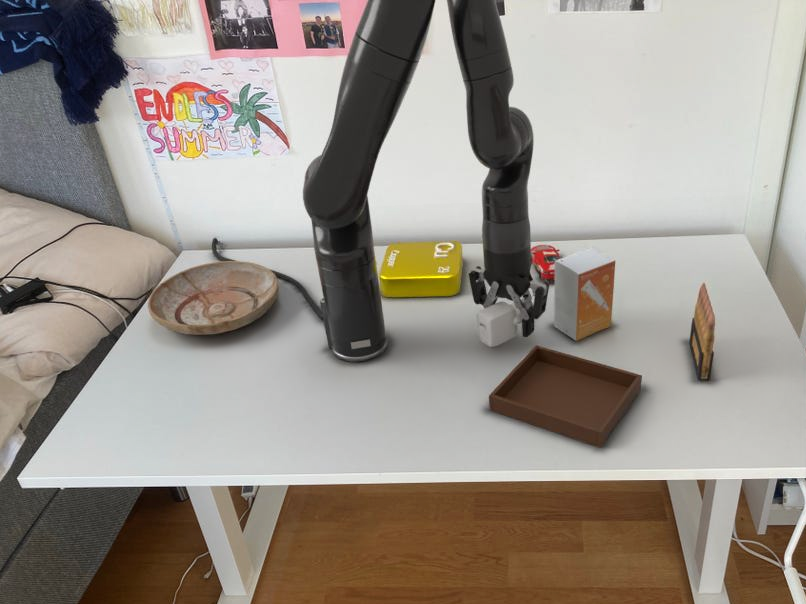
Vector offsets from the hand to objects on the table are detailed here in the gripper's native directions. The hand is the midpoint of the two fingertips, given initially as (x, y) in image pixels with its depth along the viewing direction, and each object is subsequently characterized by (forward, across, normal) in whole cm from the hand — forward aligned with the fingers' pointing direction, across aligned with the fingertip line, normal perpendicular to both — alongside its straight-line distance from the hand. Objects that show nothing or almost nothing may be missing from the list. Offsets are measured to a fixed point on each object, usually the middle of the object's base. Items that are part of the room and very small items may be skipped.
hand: (510, 330), depth 132 cm
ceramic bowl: (+2, +53, +16) cm, 55 cm away
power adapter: (+1, 0, 0) cm, 1 cm away
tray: (+2, -15, +10) cm, 19 cm away
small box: (+2, -9, -10) cm, 13 cm away
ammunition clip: (+3, -30, -8) cm, 31 cm away
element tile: (+2, +26, -12) cm, 29 cm away
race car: (+2, +6, -26) cm, 27 cm away
